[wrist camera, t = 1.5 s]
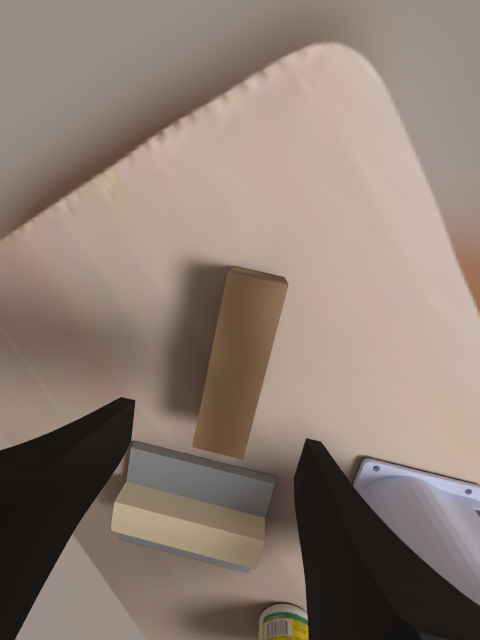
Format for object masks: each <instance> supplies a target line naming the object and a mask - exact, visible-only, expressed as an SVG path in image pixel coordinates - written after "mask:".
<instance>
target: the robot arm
mask: <svg viewBox="0 0 480 640" xmlns="http://www.w3.org/2000/svg"><path fill="white" fill-rule="evenodd" d="M134 409H135V400H132V399H127V398H123V397H121V398H119V399H117V400H115V401H113V402H111V403H109V404H107V405H105V406H103V407H101V408H99V409H98V410H96V411H94V412H92V413H90V414H88V415H86V416H84V417H82V418H80V419H78V420H76V421H74V422H72V423H70V424H67V425H65V426H63V427H61V428H59V429H57V430H54V431H52V432H50V433H48V434H45V435H43V436H40V437H38V438H35V439H32V440H30V441H27V442H24V443H22V444H19V445H16V446H13V447H10V448H7V449H3V450H0V640H15V638H16V636H17V634H18V632H19V630H20V629H21V627H22V625H23V623H24V621H25V619H26V617H27V615H28V613H29V611H30V610H31V608H32V606H33V604H34V602H35V600H36V598H37V596H38V594H39V592H40V591H41V589H42V587H43V585H44V583H45V581H46V580H47V578H48V576H49V574H50V572H51V571H52V569H53V567H54V565H55V563H56V562H57V560H58V558H59V556H60V554H61V553H62V551H63V549H64V547H65V546H66V544H67V542H68V540H69V539H70V537H71V535H72V533H73V532H74V530H75V528H76V527H77V525H78V524H79V522H80V520H81V519H82V517H83V516H84V514H85V513H86V511H87V510H88V509H89V507H90V506H91V504H92V503H93V501H94V500H95V498H96V497H97V496H98V494H99V493H100V491H101V490H102V488H103V487H104V485H105V484H106V483H107V481H108V480H109V478H110V477H111V475H112V474H113V472H114V471H115V469H116V468H117V466H118V465H119V463H120V461H121V460H122V458H123V456H124V454H125V452H126V450H127V448H128V446H129V444H130V442H131V437H132V427H133V418H134ZM374 466H377V467H376V468H373V467H374ZM466 489H468V490H466ZM294 501H295V511H296V518H297V525H298V532H299V539H300V546H301V552H302V559H303V566H304V574H305V584H306V600H307V617H308V638H309V640H480V486H479V485H475V484H471V483H467V482H463V481H459V480H455V479H451V478H447V477H443V476H439V475H435V474H431V473H427V472H423V471H419V470H415V469H411V468H407V467H402V466H398V465H394V464H390V463H386V462H382V461H378V460H374V459H370V458H367V459H364V460H363V461H362V463H361V466H360V468H359V471H358V473H357V476H356V478H355V481H354V483H353V485H352V484H351V482H350V481H349V480H348V479H347V477H346V476H345V475H344V473H343V472H342V470H341V469H340V468H339V466H338V465H337V463H336V462H335V461H334V459H333V458H332V456H331V455H330V454H329V452H328V451H327V449H326V448H325V446H324V445H323V444H322V442H320V441H316V440H311V439H307V438H306V441H305V444H304V447H303V450H302V454H301V457H300V460H299V463H298V467H297V470H296V473H295V477H294Z"/></svg>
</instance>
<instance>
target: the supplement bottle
mask: <svg viewBox="0 0 480 640" xmlns="http://www.w3.org/2000/svg"><path fill="white" fill-rule="evenodd" d="M258 640H309V638H308V617H307V613H306V612H305V611H304V610H302V609H301V608H299V607H297V606H294V605H290V604H276V605H273V606H270V607H268V608H267V609H266V610H264V611H263V613H262V614H261V616H260V618H259V624H258Z"/></svg>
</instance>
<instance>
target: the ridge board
mask: <svg viewBox="0 0 480 640" xmlns="http://www.w3.org/2000/svg"><path fill="white" fill-rule="evenodd" d="M274 487H275V476H271V475H267V474H263V473H259V472H255V471H251V470H247V469H243V468H239V467H235V466H231V465H227V464H223V463H219V462H216V461H212V460H208V459H204V458H200V457H196V456H192V455H188V454H184V453H180V452H176V451H172V450H168V449H164V448H160V447H156V446H152V445H149V444H145V443H141V442H137V441H135V442H134V444H133V445H132V447H131V450H130V458H129V465H128V473H127V480H126V483H125V485H124V486H123V488H122V490H121V491H120V493H119V495H118V496H117V498H116V500H115V501H114V508H113V516H112V524H111V531H114V532H117V533H119V539H121V540H125V541H129V542H132V543H136V544H140V545H144V546H147V547H151V548H155V549H159V550H162V551H166V552H170V553H174V554H177V555H181V556H185V557H188V558H192V559H196V560H200V561H203V562H207V563H211V564H215V565H218V566H222V567H226V568H230V569H233V570H237V571H241V572H244V573H248V572H249V569H250V568H252V569H256V568H257V565H258V561H259V558H260V555H261V552H262V549H263V545H264V542H265V517H266V513H267V510H268V507H269V504H270V500H271V497H272V494H273V490H274Z"/></svg>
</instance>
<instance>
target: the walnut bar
mask: <svg viewBox="0 0 480 640" xmlns="http://www.w3.org/2000/svg"><path fill="white" fill-rule="evenodd" d="M287 288H288V283H287V281H286V279H285V277H281V276H277V275H272V274H268V273H264V272H259V271H255V270H250V269H246V268H241V267H237V266H234V267H233V268H231V269H230V270H228V271H227V276H226V281H225V286H224V291H223V296H222V301H221V306H220V311H219V316H218V321H217V326H216V331H215V336H214V341H213V346H212V351H211V356H210V361H209V366H208V371H207V376H206V381H205V386H204V391H203V396H202V401H201V406H200V411H199V416H198V421H197V426H196V431H195V436H194V441H193V446H192V447H195V448H199V449H203V450H207V451H211V452H215V453H219V454H223V455H227V456H231V457H235V458H239V459H243V457H244V453H245V449H246V446H247V442H248V438H249V434H250V430H251V426H252V423H253V419H254V415H255V411H256V407H257V403H258V400H259V396H260V392H261V388H262V384H263V380H264V377H265V373H266V369H267V365H268V361H269V357H270V354H271V350H272V346H273V342H274V338H275V334H276V330H277V327H278V323H279V319H280V315H281V311H282V307H283V304H284V300H285V296H286V292H287Z"/></svg>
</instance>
